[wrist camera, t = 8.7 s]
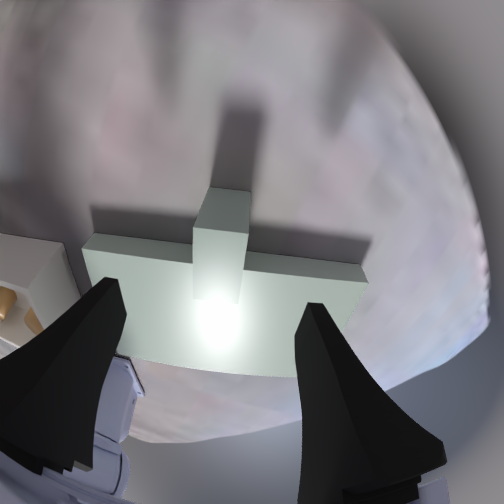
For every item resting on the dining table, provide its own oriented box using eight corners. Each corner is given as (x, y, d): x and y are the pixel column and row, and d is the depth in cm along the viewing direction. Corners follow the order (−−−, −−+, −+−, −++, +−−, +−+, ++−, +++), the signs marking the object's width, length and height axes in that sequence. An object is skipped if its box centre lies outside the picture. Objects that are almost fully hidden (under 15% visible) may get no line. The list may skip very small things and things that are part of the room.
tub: (94, 329, 22) (76, 371, 18) (-3, 297, 21) (-22, 326, 17) (63, 243, 16) (27, 288, 12) (-34, 227, 15) (-61, 255, 11)
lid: (311, 361, 23) (316, 400, 20) (124, 338, 22) (110, 375, 19) (381, 213, 15) (411, 256, 11) (85, 179, 13) (45, 213, 10)
